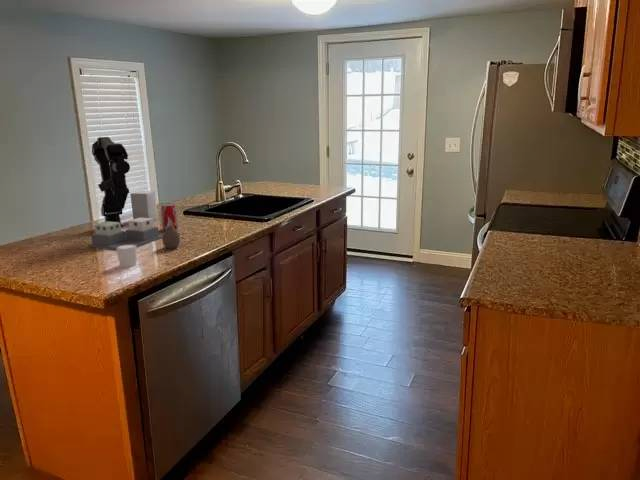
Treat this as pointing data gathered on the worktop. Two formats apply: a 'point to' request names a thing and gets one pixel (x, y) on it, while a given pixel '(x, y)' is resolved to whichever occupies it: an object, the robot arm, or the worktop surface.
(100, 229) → the grey-green block
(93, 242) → the board
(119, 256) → the shot glass
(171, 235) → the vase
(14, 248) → the worktop surface
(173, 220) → the soda can
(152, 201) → the supplement box
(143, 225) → the cream block with holes
